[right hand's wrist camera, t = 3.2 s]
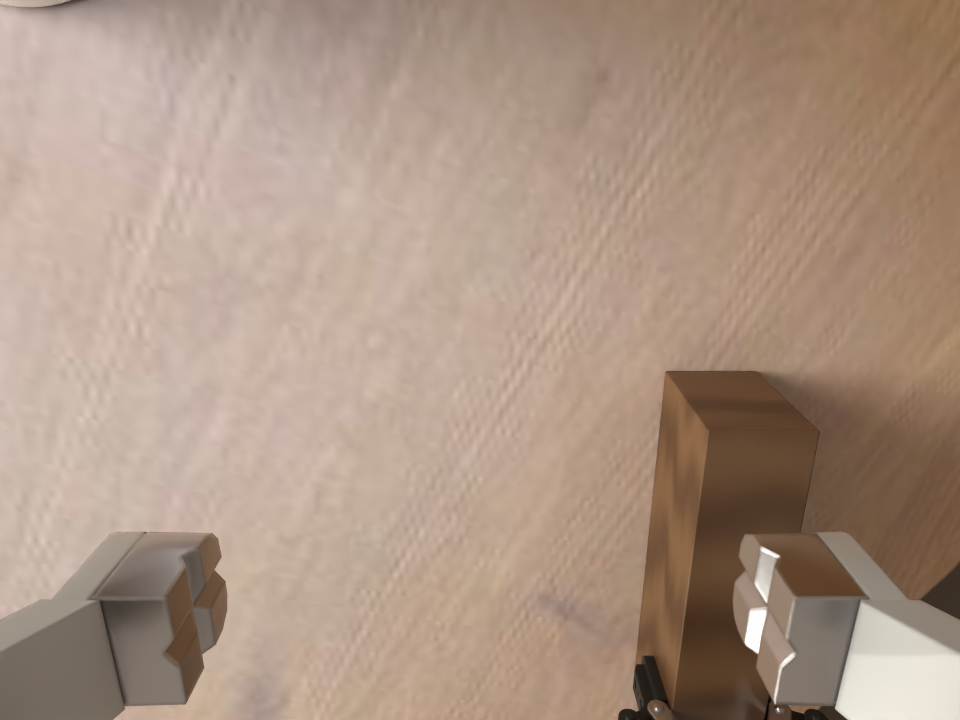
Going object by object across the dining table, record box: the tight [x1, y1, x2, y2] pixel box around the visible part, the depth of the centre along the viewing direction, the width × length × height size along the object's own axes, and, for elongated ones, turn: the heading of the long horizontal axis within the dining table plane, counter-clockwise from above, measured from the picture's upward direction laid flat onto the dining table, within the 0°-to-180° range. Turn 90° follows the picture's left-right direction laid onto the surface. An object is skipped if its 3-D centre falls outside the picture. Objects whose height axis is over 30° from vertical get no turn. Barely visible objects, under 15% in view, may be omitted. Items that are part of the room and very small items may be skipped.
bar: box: [635, 371, 820, 720], centre depth 40 cm, size 23×5×8 cm, turn 0°
